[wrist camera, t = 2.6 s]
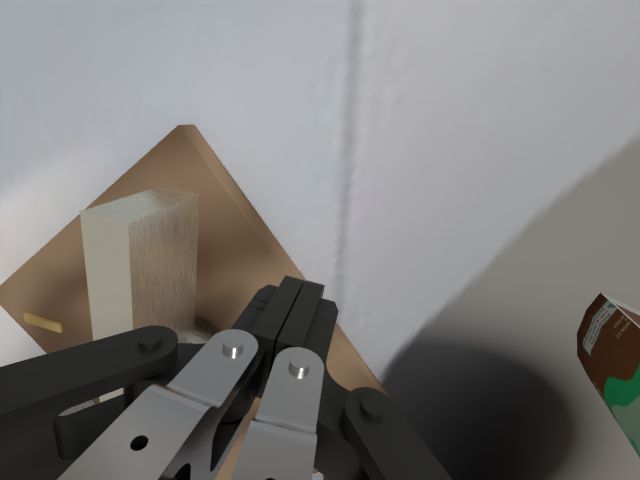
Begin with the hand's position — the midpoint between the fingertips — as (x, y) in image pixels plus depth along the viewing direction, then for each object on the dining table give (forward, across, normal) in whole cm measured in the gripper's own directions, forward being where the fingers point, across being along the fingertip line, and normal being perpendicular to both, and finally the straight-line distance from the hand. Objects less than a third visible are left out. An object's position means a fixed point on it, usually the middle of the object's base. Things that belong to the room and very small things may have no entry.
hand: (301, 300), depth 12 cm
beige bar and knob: (+5, +8, +7) cm, 12 cm away
